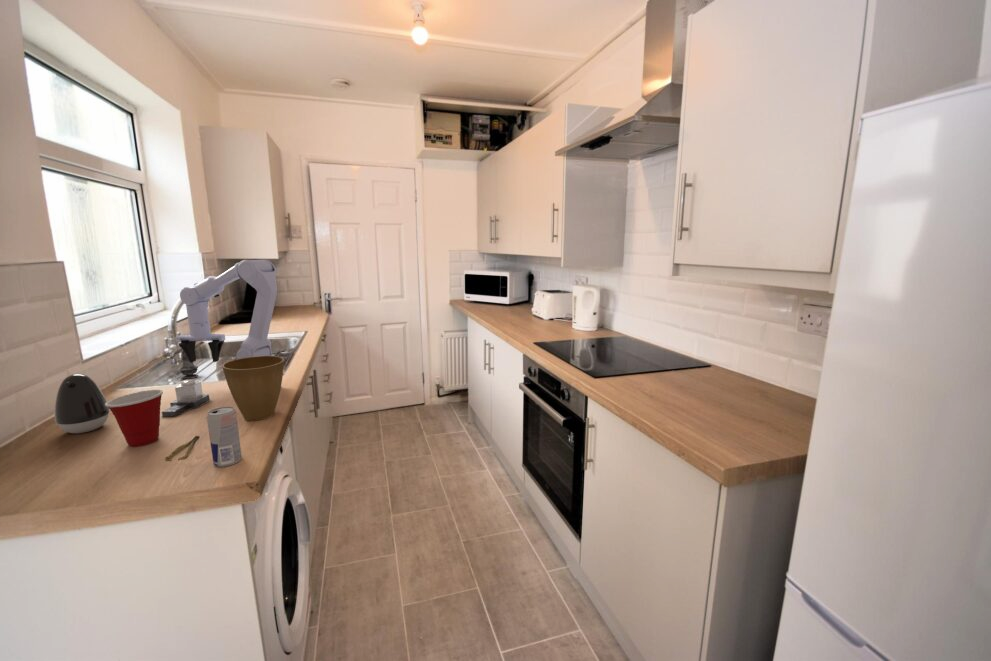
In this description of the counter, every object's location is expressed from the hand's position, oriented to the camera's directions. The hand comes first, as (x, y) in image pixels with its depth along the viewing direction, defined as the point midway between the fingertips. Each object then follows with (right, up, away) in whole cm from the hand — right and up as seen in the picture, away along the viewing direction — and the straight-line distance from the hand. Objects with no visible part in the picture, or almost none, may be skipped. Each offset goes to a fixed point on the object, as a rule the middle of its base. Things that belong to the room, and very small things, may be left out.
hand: (204, 361), depth 142 cm
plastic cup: (+13, -17, -40) cm, 45 cm away
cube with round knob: (+6, -10, -15) cm, 19 cm away
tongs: (+26, -18, -43) cm, 54 cm away
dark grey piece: (+6, -13, -18) cm, 23 cm away
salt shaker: (-16, -7, +15) cm, 23 cm away
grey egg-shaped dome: (-9, -16, -32) cm, 37 cm away
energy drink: (+40, -19, -50) cm, 67 cm away
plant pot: (+33, -14, -24) cm, 43 cm away
